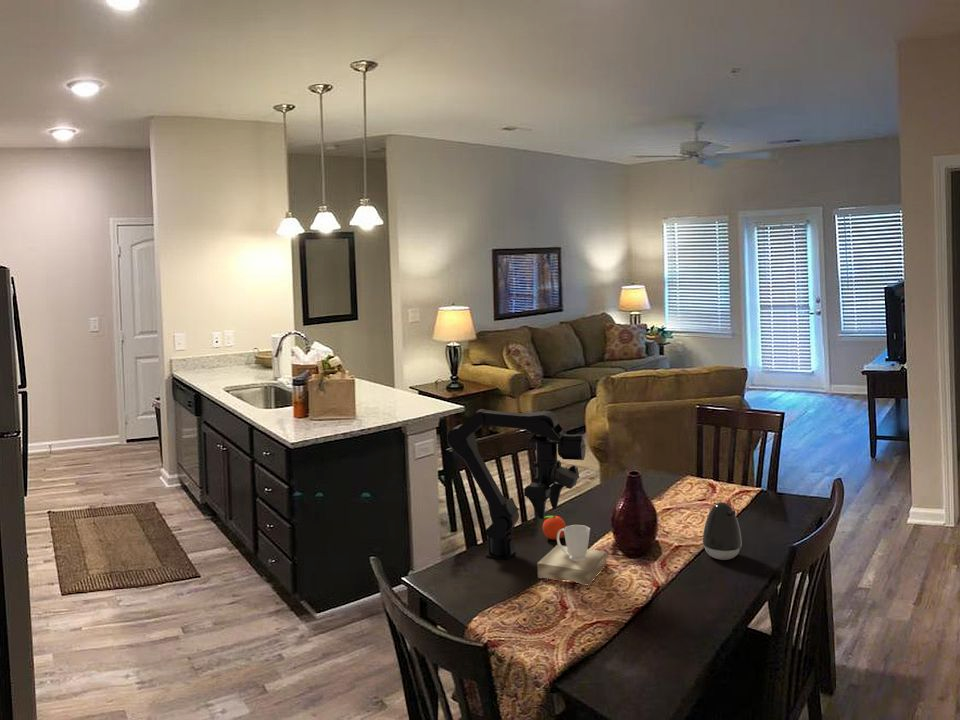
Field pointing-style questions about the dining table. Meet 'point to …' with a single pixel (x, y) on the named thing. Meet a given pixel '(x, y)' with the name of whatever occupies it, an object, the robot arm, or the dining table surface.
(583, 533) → the cup
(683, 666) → the dining table surface
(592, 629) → the dining table surface
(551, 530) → the clementine
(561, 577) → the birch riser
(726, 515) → the grey egg-shaped figure
